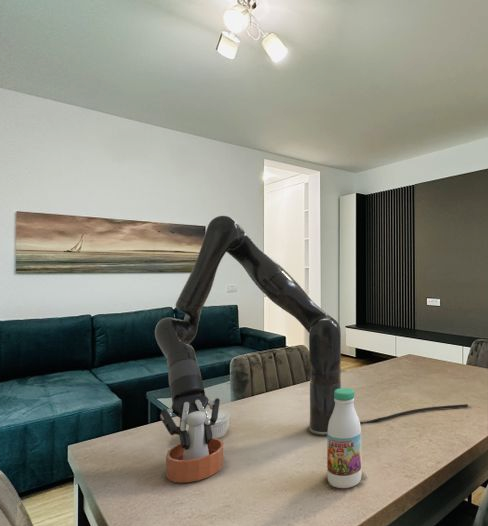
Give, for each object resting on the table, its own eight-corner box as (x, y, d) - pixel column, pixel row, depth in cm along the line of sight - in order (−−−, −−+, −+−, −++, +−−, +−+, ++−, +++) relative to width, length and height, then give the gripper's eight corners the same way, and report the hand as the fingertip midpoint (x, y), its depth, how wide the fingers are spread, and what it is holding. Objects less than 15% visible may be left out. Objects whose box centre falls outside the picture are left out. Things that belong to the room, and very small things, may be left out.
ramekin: (203, 447, 100) (203, 427, 101) (179, 437, 106) (179, 419, 106) (238, 432, 110) (238, 414, 110) (214, 424, 116) (214, 407, 116)
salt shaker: (198, 475, 85) (198, 418, 86) (176, 473, 87) (176, 416, 87) (214, 463, 91) (214, 409, 92) (193, 460, 92) (193, 407, 93)
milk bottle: (328, 471, 88) (327, 385, 88) (360, 469, 88) (360, 384, 89) (326, 490, 80) (326, 396, 81) (362, 488, 81) (362, 395, 81)
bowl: (231, 457, 95) (231, 437, 95) (208, 484, 82) (208, 461, 83) (184, 456, 95) (184, 437, 95) (154, 483, 83) (154, 460, 83)
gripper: (156, 378, 91) (166, 446, 81) (217, 368, 100) (232, 429, 90) (152, 395, 95) (161, 462, 85) (211, 384, 104) (225, 443, 94)
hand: (198, 444), depth 88 cm, fingers open, 4 cm apart
